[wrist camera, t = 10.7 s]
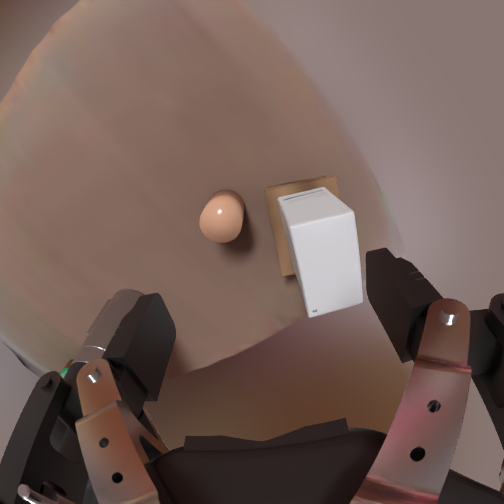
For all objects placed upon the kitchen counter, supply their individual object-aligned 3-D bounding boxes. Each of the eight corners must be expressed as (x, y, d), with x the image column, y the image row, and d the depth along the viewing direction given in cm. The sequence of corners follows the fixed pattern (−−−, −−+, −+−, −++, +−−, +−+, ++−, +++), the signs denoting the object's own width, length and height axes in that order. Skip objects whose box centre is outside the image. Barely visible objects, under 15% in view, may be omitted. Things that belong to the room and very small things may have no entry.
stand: (279, 262, 41) (282, 276, 38) (262, 184, 36) (264, 191, 33) (338, 250, 41) (345, 263, 37) (328, 171, 36) (336, 177, 32)
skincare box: (339, 259, 37) (365, 304, 27) (293, 270, 37) (306, 320, 28) (327, 184, 32) (356, 210, 23) (275, 196, 33) (285, 227, 24)
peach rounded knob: (219, 230, 39) (213, 249, 34) (201, 200, 37) (191, 215, 32) (251, 214, 38) (249, 232, 33) (233, 183, 36) (228, 195, 31)
